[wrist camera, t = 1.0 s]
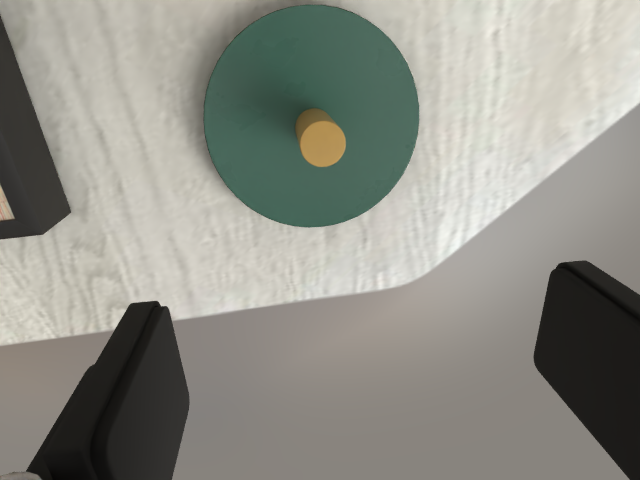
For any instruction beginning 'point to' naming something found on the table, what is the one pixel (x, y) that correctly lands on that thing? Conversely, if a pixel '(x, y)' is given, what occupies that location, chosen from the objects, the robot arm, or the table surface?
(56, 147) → the table surface
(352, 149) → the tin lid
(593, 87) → the table surface
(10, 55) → the framed painting
